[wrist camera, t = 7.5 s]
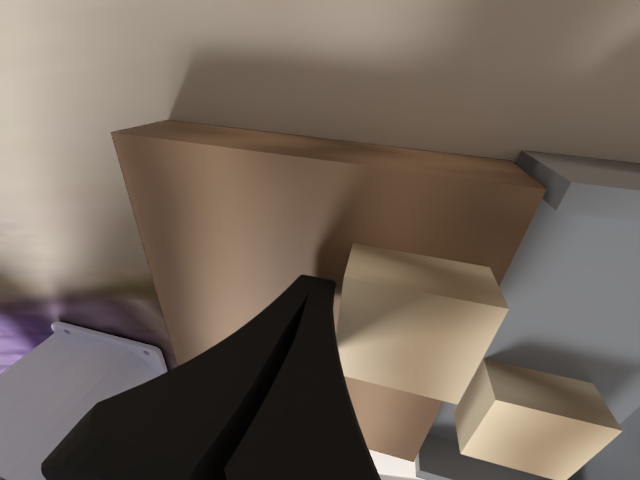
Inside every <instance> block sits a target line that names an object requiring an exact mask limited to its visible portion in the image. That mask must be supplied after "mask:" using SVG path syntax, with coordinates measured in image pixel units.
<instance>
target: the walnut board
mask: <svg viewBox="0 0 640 480" xmlns="http://www.w3.org/2000/svg"><path fill="white" fill-rule="evenodd" d="M111 135H112V139H113V142H114V146H115V149H116V153H117V156H118V160H119V163H120V167H121V170H122V174H123V177H124V181H125V184H126V188H127V191H128V195H129V198H130V202H131V205H132V208H133V212H134V215H135V219H136V222H137V226H138V229H139V233H140V236H141V240H142V243H143V247H144V250H145V254H146V257H147V261H148V264H149V268H150V271H151V275H152V278H153V282H154V285H155V289H156V292H157V296H158V299H159V303H160V306H161V310H162V313H163V317H164V320H165V324H166V327H167V331H168V334H169V338H170V341H171V345H172V348H173V352H174V355H175V359H176V362H177V366H179V365H181V364H183V363H185V362H187V361H189V360H191V359H193V358H194V357H196V356H198V355H200V354H201V353H203V352H204V351H206V350H208V349H209V348H211V347H213V346H214V345H216V344H218V343H219V342H221V341H222V340H224V339H225V338H227V337H228V336H230V335H231V334H233V333H234V332H235V331H237V330H238V329H240V328H241V327H242V326H244V325H245V324H246V323H248V322H249V321H250V320H251V319H253V318H254V317H255V316H256V315H258V314H259V313H260V312H261V311H263V310H264V309H265V308H266V307H267V306H268V305H270V304H271V303H272V302H273V301H274V300H275V299H276V298H277V297H279V296H280V295H281V294H282V293H283V292H284V291H285V290H286V289H287V288H288V287H289V286H290V285H291V284H292V283H293V282H294V281H295V280H296V279H297V278H298V277H299V276H300V275H302V274H303V275H309V276H314V277H319V278H324V279H329V280H333V281H334V282H335V283H336V288H335V296H334V305H333V314H334V325H335V333H336V331H337V324H338V316H339V309H340V302H341V294H342V287H343V280H344V275H345V271H346V267H347V263H348V260H349V256H350V252H351V248H352V245H353V243H356V244H362V245H367V246H373V247H379V248H384V249H390V250H396V251H401V252H407V253H413V254H418V255H424V256H430V257H436V258H441V259H447V260H453V261H458V262H464V263H470V264H475V265H481V266H487V267H490V269H491V271H492V273H493V275H494V277H495V280H496V282H497V284H498V286H500V284H501V282H502V280H503V278H504V276H505V274H506V272H507V270H508V268H509V266H510V264H511V262H512V260H513V258H514V255H515V253H516V251H517V249H518V247H519V245H520V243H521V241H522V239H523V237H524V235H525V233H526V231H527V229H528V227H529V225H530V223H531V221H532V219H533V217H534V215H535V212H536V210H537V208H538V206H539V204H540V202H541V200H542V198H543V196H544V194H545V192H546V190H547V189H546V188H545V187H543V186H542V185H541V184H540V183H538V182H537V181H536V180H535V179H533V178H532V177H531V176H530V175H528V174H527V173H526V172H525V171H523V170H522V169H521V168H520V167H518V166H517V165H516V164H515V163H513V162H512V161H508V160H499V159H491V158H483V157H474V156H466V155H457V154H449V153H440V152H432V151H424V150H415V149H407V148H398V147H390V146H381V145H373V144H364V143H356V142H348V141H339V140H331V139H322V138H314V137H305V136H297V135H288V134H280V133H272V132H263V131H255V130H246V129H238V128H229V127H221V126H213V125H204V124H196V123H187V122H179V121H170V120H166V121H161V122H156V123H152V124H147V125H142V126H138V127H133V128H128V129H124V130H119V131H114V132H111ZM344 377H345V381H346V385H347V388H348V392H349V395H350V398H351V401H352V404H353V407H354V411H355V414H356V417H357V420H358V423H359V426H360V428H361V431H362V434H363V436H364V439H365V442H366V445H367V447H368V449H370V450H373V451H377V452H380V453H384V454H387V455H391V456H394V457H398V458H401V459H405V460H408V461H412V462H414V460H415V458H416V456H417V454H418V452H419V450H420V448H421V446H422V444H423V442H424V440H425V438H426V436H427V434H428V432H429V429H430V427H431V425H432V423H433V421H434V419H435V417H436V415H437V413H438V411H439V409H440V407H441V405H442V403H443V401H441V400H437V399H433V398H429V397H425V396H421V395H417V394H413V393H409V392H405V391H401V390H398V389H394V388H390V387H386V386H382V385H378V384H374V383H370V382H366V381H362V380H358V379H354V378H350V377H346V376H344Z"/></svg>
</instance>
